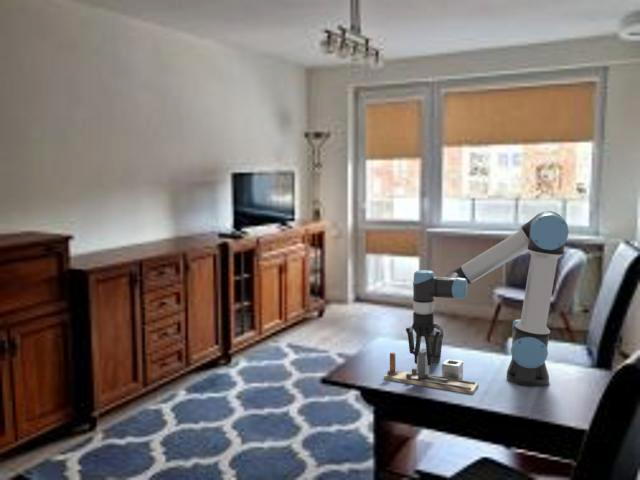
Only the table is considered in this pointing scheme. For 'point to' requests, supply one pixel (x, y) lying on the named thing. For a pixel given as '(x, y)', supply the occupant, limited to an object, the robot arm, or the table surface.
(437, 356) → the beverage cup
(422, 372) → the grey l-shaped block
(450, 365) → the link
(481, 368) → the table surface
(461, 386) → the board
